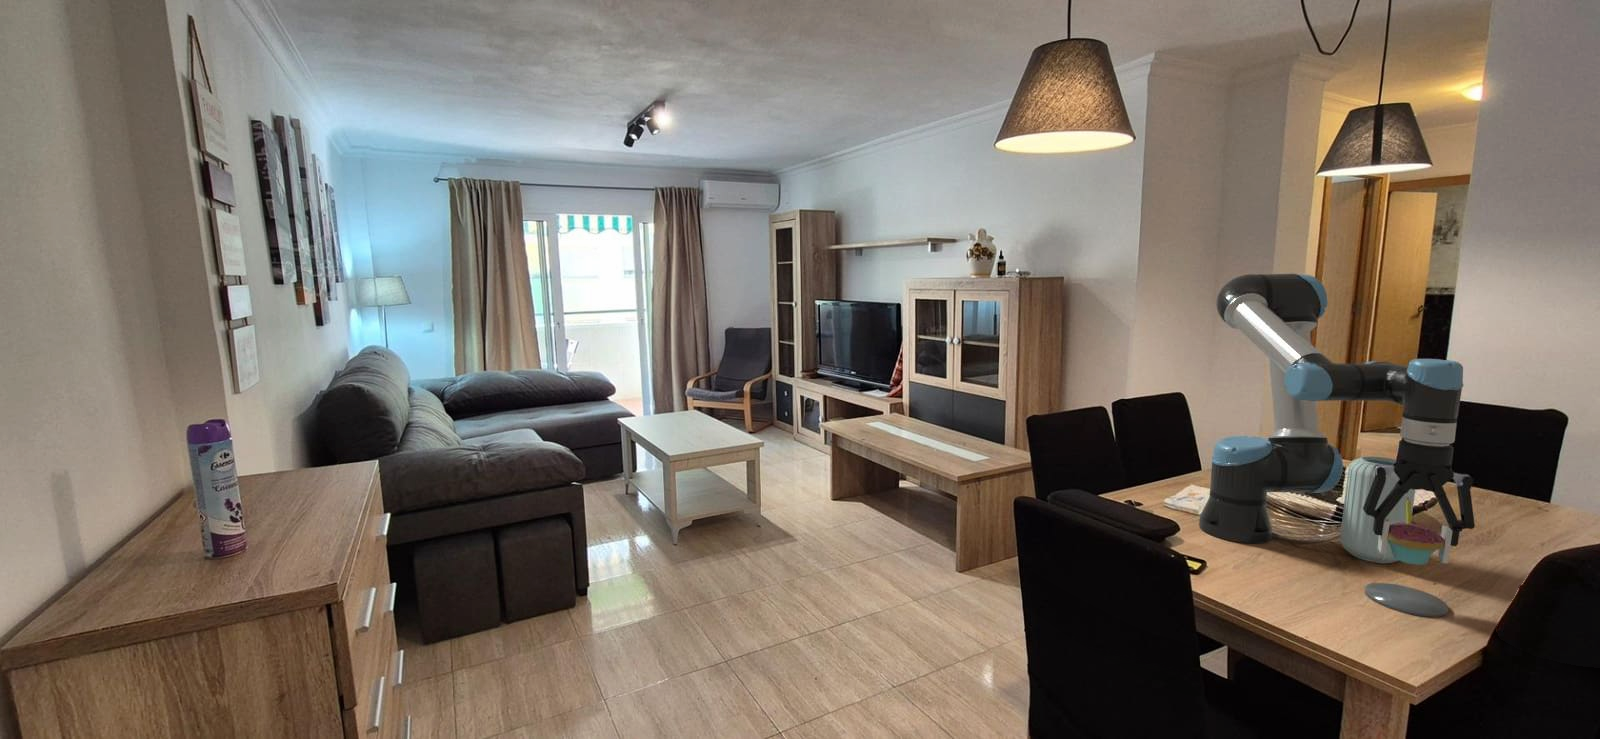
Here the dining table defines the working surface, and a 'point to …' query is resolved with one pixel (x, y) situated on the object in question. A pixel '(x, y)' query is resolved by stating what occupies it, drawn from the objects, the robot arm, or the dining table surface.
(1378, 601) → the coaster
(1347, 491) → the vase
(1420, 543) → the cupcake
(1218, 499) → the robot arm
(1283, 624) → the dining table surface
